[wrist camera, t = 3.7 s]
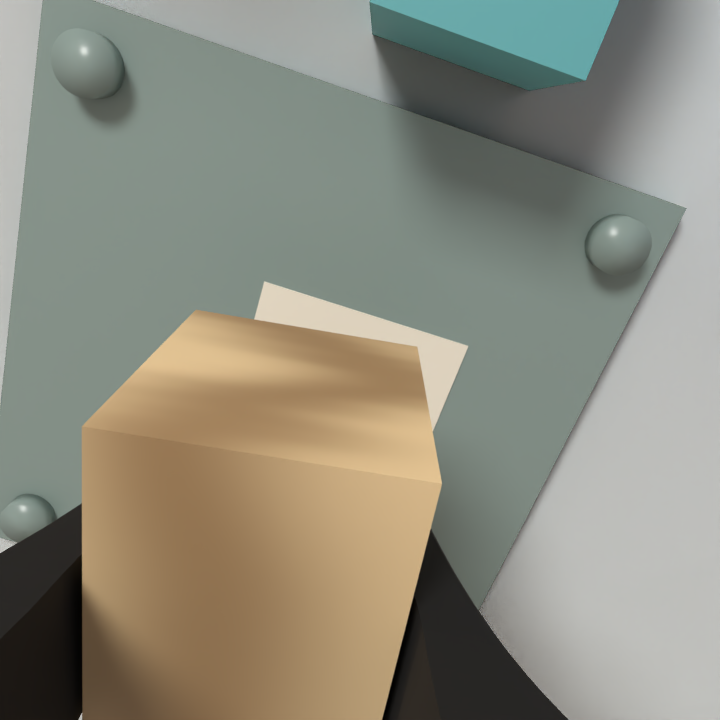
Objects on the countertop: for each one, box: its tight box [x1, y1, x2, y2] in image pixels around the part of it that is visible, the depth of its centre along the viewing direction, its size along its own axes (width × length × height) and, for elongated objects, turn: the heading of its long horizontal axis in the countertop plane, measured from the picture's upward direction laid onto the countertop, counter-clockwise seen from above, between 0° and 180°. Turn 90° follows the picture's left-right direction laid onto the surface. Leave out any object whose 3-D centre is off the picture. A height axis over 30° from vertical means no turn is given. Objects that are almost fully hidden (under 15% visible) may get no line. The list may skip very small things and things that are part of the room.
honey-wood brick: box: [82, 310, 442, 720], centre depth 11 cm, size 4×7×5 cm, turn 170°
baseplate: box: [0, 0, 686, 611], centre depth 19 cm, size 18×18×1 cm
